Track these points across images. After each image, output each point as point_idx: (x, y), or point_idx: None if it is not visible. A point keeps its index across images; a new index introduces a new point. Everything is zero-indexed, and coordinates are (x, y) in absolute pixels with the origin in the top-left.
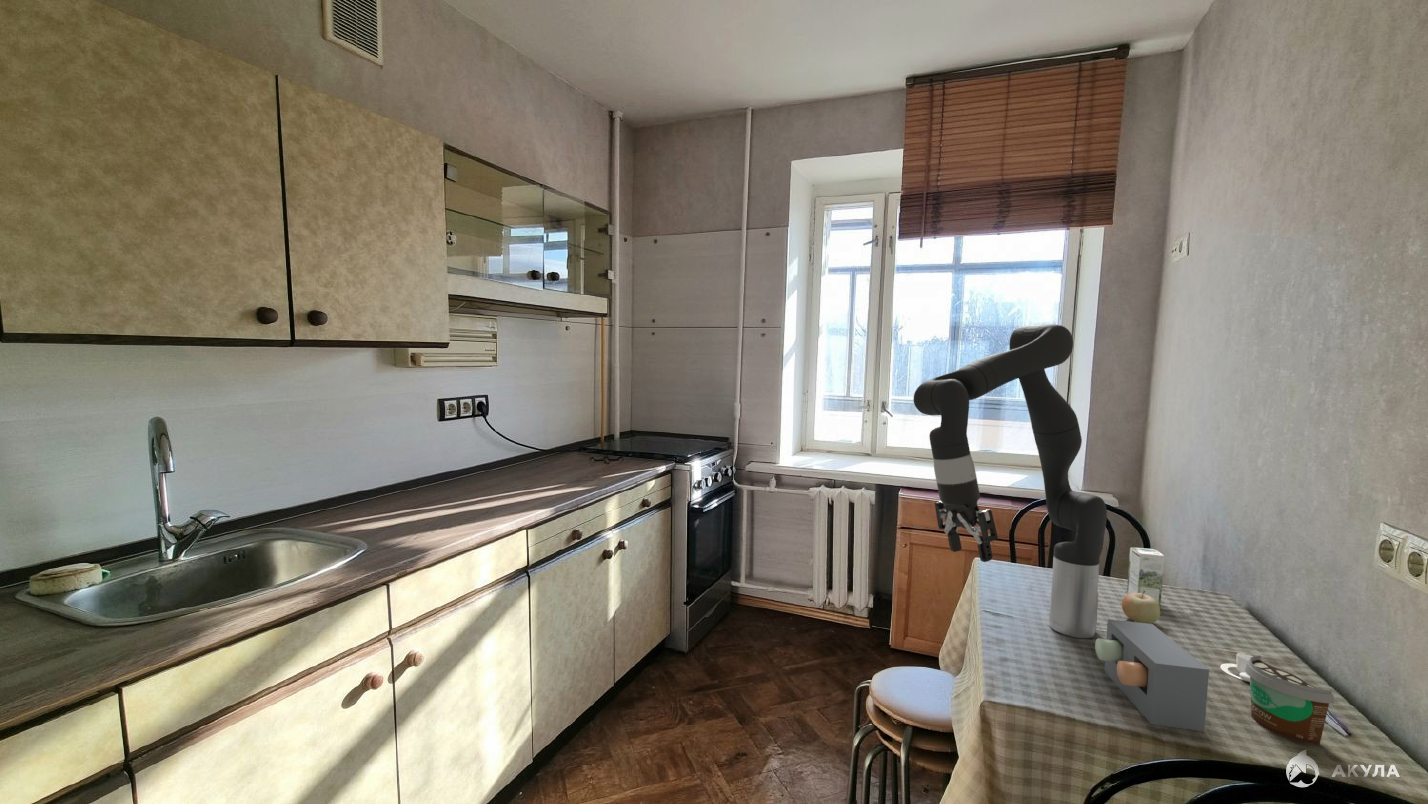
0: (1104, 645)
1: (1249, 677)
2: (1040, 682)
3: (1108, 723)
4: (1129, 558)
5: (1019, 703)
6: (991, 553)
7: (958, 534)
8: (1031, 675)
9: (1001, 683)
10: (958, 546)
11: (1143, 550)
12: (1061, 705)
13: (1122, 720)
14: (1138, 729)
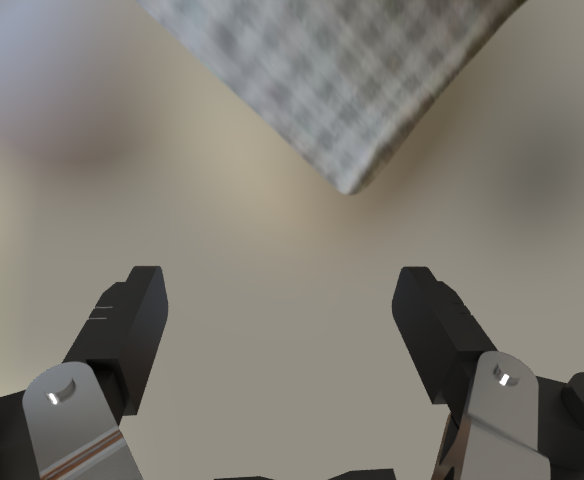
0: None
1: None
2: (328, 44)
3: (464, 45)
4: None
5: (366, 156)
6: (460, 304)
7: (126, 348)
8: (301, 38)
9: (307, 135)
10: (155, 293)
11: None
12: (398, 81)
13: (471, 5)
14: (496, 4)
